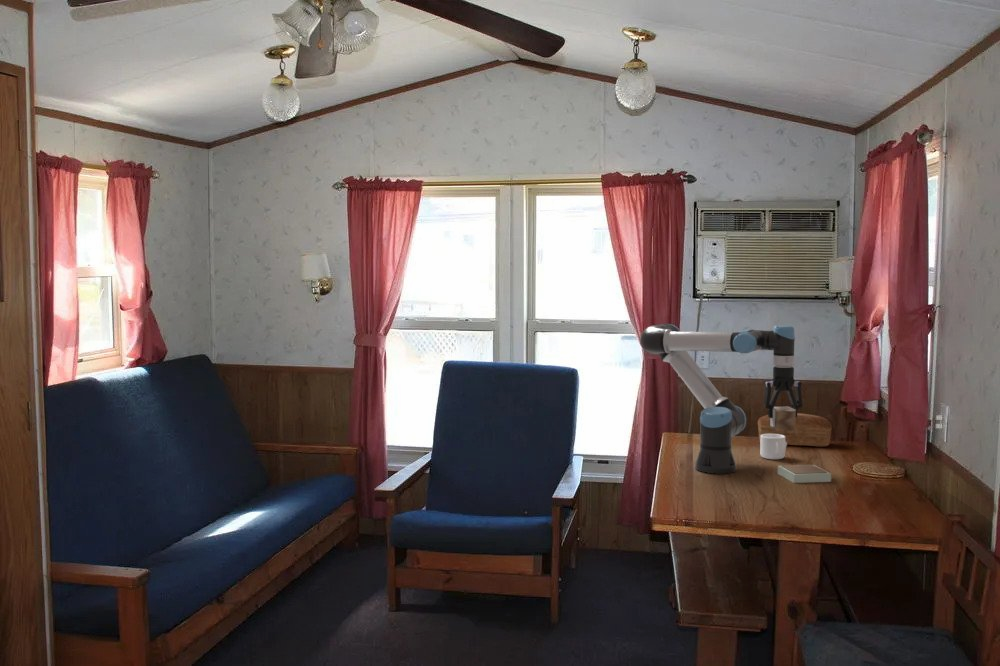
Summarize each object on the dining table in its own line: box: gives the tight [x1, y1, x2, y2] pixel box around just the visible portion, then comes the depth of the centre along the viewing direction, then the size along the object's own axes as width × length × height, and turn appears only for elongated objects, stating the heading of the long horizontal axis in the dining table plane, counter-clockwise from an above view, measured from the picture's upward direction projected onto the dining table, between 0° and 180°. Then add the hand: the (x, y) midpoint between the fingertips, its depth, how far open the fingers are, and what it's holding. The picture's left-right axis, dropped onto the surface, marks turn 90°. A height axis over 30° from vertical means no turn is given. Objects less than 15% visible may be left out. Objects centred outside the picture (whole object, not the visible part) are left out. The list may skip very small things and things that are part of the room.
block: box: [770, 405, 796, 431], centre depth 325 cm, size 7×7×8 cm
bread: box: [757, 412, 833, 447], centre depth 374 cm, size 12×31×14 cm, turn 71°
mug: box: [759, 434, 788, 461], centre depth 346 cm, size 12×10×9 cm
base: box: [777, 464, 832, 484], centre depth 314 cm, size 14×14×3 cm
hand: (782, 425), depth 326 cm, fingers closed on block, 7 cm apart
